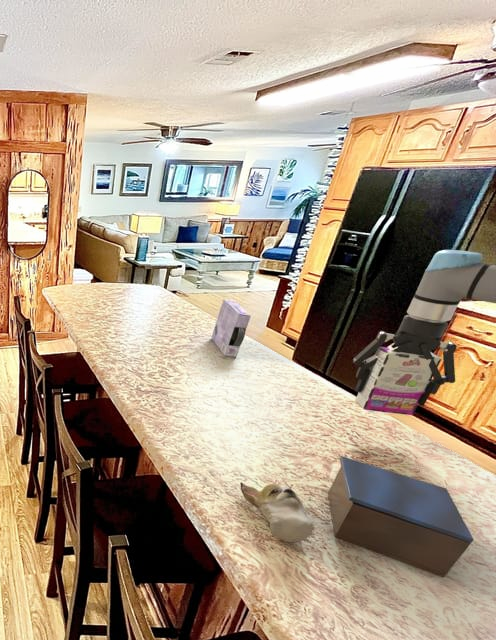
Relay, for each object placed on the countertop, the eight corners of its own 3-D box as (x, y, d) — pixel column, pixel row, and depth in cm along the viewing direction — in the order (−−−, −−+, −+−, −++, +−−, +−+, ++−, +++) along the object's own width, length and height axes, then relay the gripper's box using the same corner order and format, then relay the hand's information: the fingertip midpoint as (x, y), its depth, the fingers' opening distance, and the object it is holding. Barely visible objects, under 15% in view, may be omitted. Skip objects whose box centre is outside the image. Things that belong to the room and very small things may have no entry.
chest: (334, 536, 75) (352, 503, 71) (327, 492, 85) (343, 461, 81) (444, 577, 68) (471, 543, 64) (421, 523, 78) (444, 491, 74)
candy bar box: (400, 406, 103) (429, 350, 96) (413, 416, 99) (444, 358, 92) (352, 400, 106) (377, 345, 99) (362, 410, 101) (389, 353, 94)
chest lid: (348, 500, 71) (350, 497, 71) (339, 458, 82) (341, 455, 81) (471, 543, 64) (474, 539, 63) (444, 491, 74) (446, 488, 74)
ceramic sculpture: (276, 512, 69) (244, 460, 82) (262, 547, 72) (233, 492, 86) (342, 521, 67) (298, 467, 81) (324, 557, 71) (285, 499, 84)
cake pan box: (238, 359, 147) (252, 314, 139) (224, 357, 147) (237, 313, 139) (222, 339, 164) (234, 299, 156) (210, 338, 164) (221, 298, 156)
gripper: (492, 322, 89) (446, 403, 98) (360, 305, 100) (329, 378, 109) (507, 332, 83) (456, 417, 92) (365, 313, 94) (332, 390, 104)
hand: (387, 396), depth 101 cm, fingers closed on candy bar box, 12 cm apart
